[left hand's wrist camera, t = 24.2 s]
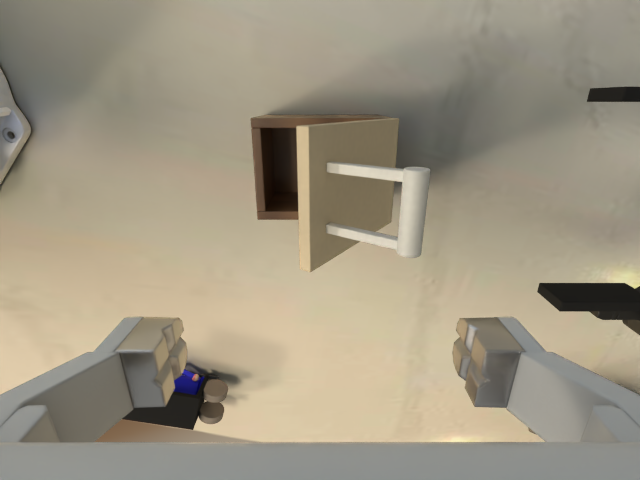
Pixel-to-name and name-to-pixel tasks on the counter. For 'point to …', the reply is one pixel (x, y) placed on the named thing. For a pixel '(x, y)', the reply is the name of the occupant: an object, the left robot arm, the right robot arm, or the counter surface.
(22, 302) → the counter surface
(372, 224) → the lid
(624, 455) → the left robot arm
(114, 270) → the counter surface
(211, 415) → the figurine character
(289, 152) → the chest
